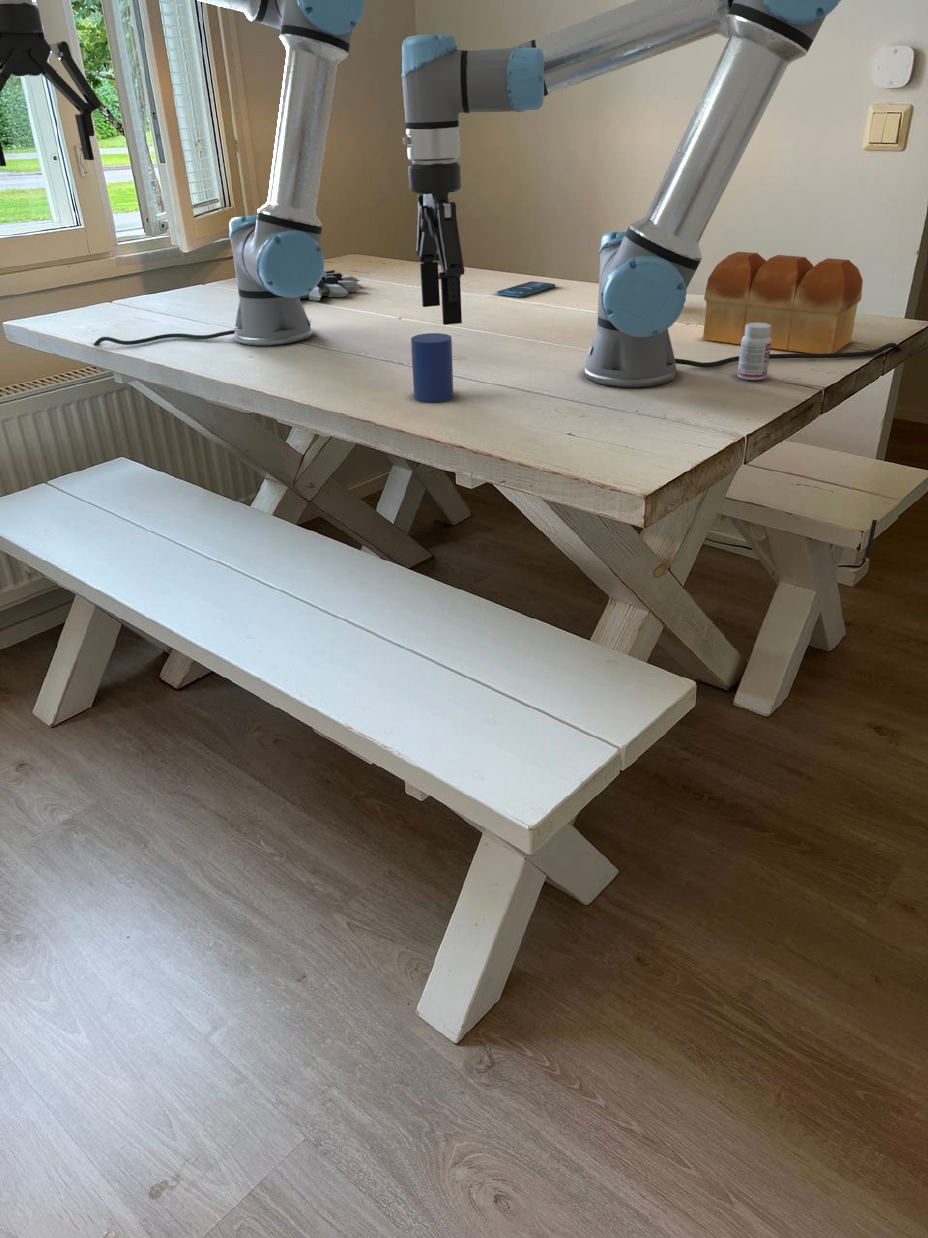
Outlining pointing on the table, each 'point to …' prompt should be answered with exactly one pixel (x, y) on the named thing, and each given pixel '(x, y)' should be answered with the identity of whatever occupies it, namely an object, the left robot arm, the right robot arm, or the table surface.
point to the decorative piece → (333, 286)
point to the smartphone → (525, 289)
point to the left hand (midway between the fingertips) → (46, 162)
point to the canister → (432, 367)
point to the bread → (783, 301)
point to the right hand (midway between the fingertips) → (441, 314)
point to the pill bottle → (755, 351)
